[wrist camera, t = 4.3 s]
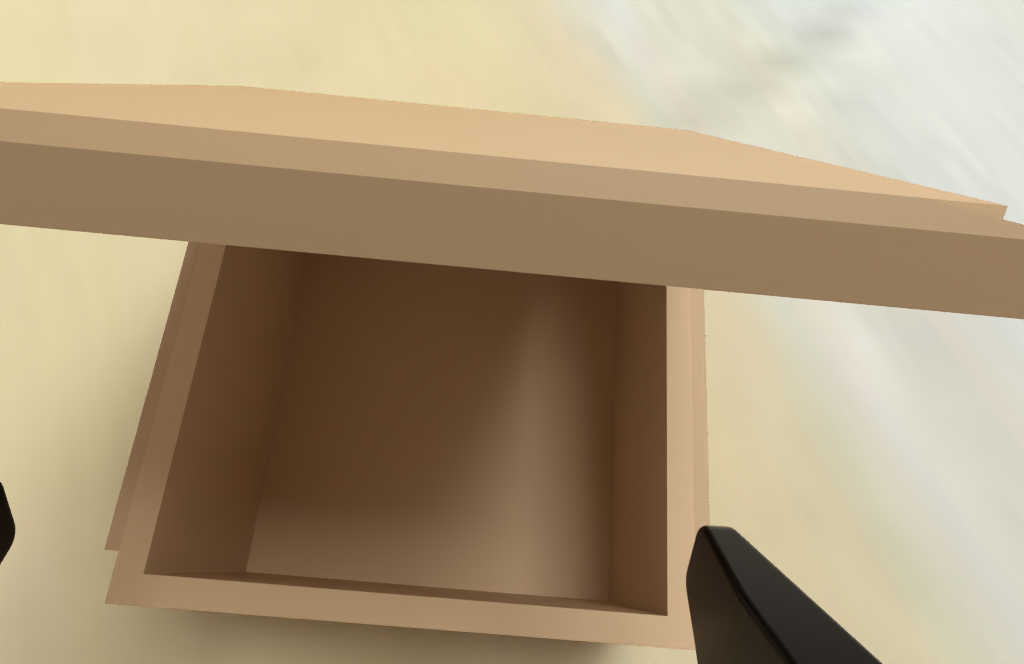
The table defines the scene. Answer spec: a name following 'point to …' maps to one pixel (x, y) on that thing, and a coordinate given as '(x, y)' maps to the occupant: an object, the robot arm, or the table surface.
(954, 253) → the carton flap
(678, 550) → the carton
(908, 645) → the table surface
